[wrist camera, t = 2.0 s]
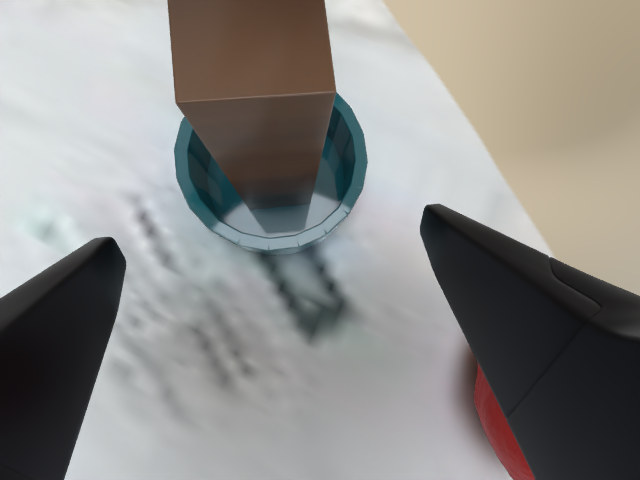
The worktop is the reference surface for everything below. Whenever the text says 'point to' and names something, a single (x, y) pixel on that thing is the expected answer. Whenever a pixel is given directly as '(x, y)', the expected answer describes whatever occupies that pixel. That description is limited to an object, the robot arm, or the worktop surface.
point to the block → (256, 91)
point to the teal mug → (277, 222)
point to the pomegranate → (499, 431)
